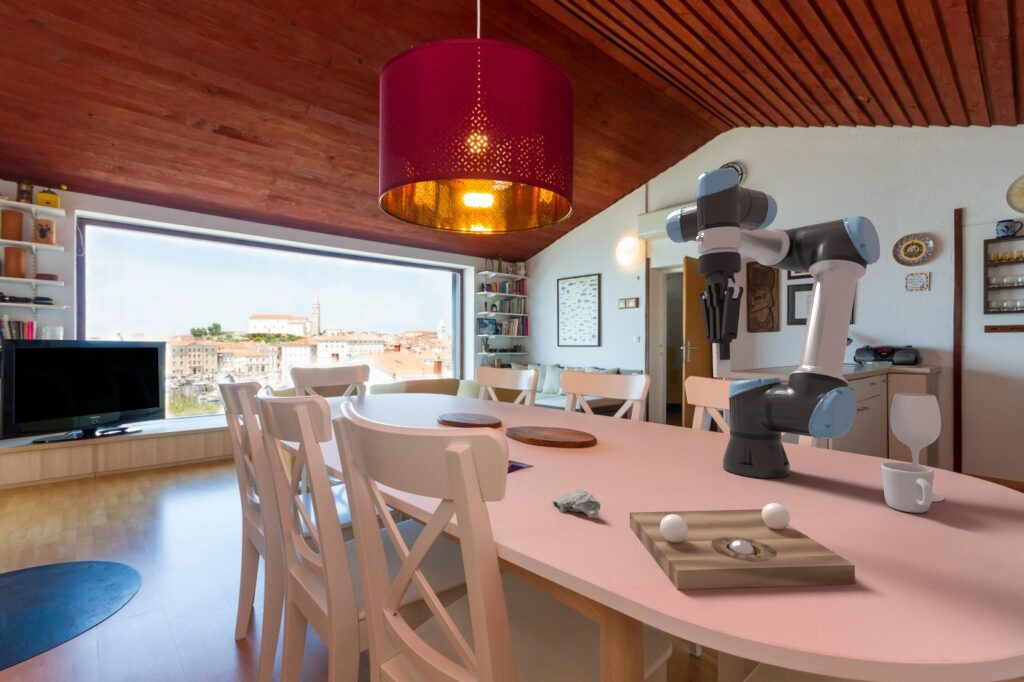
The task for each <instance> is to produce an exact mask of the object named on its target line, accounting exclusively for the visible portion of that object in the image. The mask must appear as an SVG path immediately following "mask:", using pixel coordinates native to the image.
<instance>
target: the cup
mask: <svg viewBox="0 0 1024 682" xmlns="http://www.w3.org/2000/svg"><path fill="white" fill-rule="evenodd" d="M880 472H881V479H882V486H883V494H884V501H885V502H886V505H887V506H889V507H890V508H892V509H894V510H897V511H901V512H905V513H912V514H922V513H926V512H928V511H929V509H930V507H931V505H932V499H933V492H934V491H933V485H934V477H935V472H934V470H933V469H932V468H930V467H927V466H923V465H914V464H913V463H907V462H905V463H904V462H883V463H881V464H880Z"/></svg>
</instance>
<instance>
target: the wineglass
mask: <svg viewBox="0 0 1024 682" xmlns="http://www.w3.org/2000/svg"><path fill="white" fill-rule="evenodd" d="M890 407H891V408H890V414H889V415H890V416H889V419H890V420H889V421H890V429H891V431H892V433H893V435H894V437H896V439H897V440H899V441H900V442H901V443H902V444H904V445H905V446H907V447H908V448H909V449H910V451H911V457H912V464H914V465H919V459H920V458H919V457H920V452H921V450H922V449H923V448H925V447H927V446H930V445H931V444H933V443H934V442H935V441H936V440H937V439H938V438H939V436H940V435H941V430H942V429H941V427H942V420H941V419H942V416H941V411H940V406H939V402H938V399H937V397H936V395H935V394H929V393H927V394H926V393H917V392H916V393H913V392H911V393H910V392H899V393H898V392H897V393H894V395H893V398H892V402H891V406H890ZM919 466H920V465H919ZM944 499H945V498H944V497H943V496H942V495H940V493H939V494H938V493H937V492H935V491H933V499H932V502H933V503H935V502H936V503H937V502H943V501H944Z"/></svg>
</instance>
